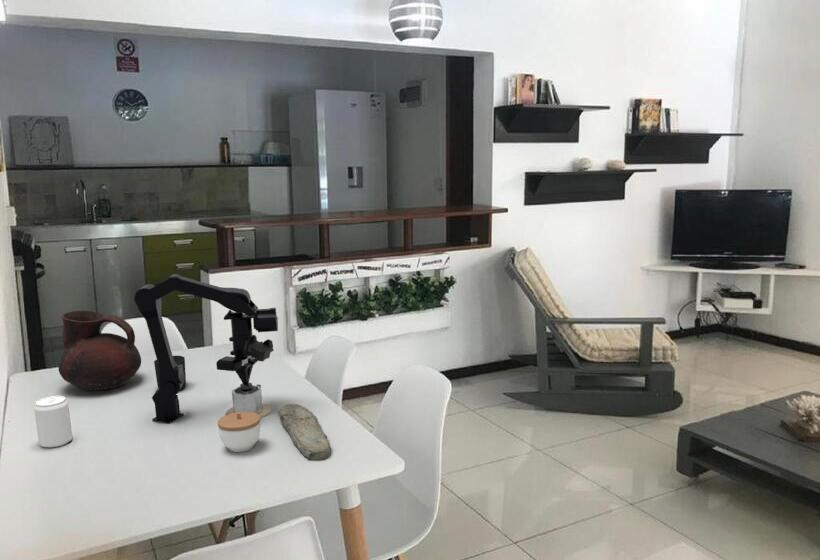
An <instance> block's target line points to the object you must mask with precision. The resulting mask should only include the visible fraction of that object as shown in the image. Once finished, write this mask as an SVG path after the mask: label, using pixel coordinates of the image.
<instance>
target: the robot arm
mask: <svg viewBox="0 0 820 560" xmlns="http://www.w3.org/2000/svg"><path fill="white" fill-rule="evenodd" d="M173 291H174V292H175V291H177V292H181V293H184V294H188V295H190V296H191V295H192V296H195V297H199V298H201V299H204V300H209V301H211V302H212V301H213V302H215V303H218V304H220V305H221V306H222V307H224V308H225V309H228V311H227V313H226V314H225V315H224V317H223V320H225V321H227V320H228V321H229V320H230V326H231V336H230V337H229V338H228V339H229V340H228V341H229V342H232V350H230V356H228V355H226V356H224V357H222V358H219V359H218V360H217V361H216V370H218V371H228V372H235V373H236V375H237V377H238V378H239V380H240V381H241V384H242V383H243V384H244V385H247V384H248V383H250V382H249V381H250V378H251V374H252V371H253V368H254V365H255V364H256V363H258V362H264V361H265V360H267V359H270V356H271V353H272V352H274V350H275V349H274V344H273V340H272V339H269V338H268V339H266V340H264V341H258V339H257V338H258V337H257V336H256V335H257V334H253V329H254V330H255V331H257V333H268V332H269V333H270V332H278V331H279V319H278V318H279V317H278V315H277V308H276V307H269V308H259V307H258V306H257V305H256V304H255V302H254V301H253V300H252V297H251V295H250V292H249V291H248V290H246V289H244V288H237V287H220V286H217V285H213V284H210V283H206V282H203V281H199V280H196V279H193V278H189V277H185V276H182V275H180V274H178V273H174V274H172V275H170V276H169V277H166V278H164V279H163V280H160V281H159V282H156V283H154V284H151V283H148V284H144V285H143V286H142V287H140V288H139V289H138V290H137V291H136V292H135V294H134V296H133V300H134V304H135V306H136V307H137V309H138V312H139V313H140V315H141V316H142V317H143V318H144V320H145V323H146V325H147V330H148V333H149V338H150V339H151V340H150V341H151V343H152V347H153V351H154V354H155V357H156V360H157V362H158V365H159V376H158V379H159V387H158V386H157V389H156V390H155V392H154V393H153V394H152V397H151V399H152V401H153V403H154V408H155V409H154V410H155V416H154V417H152V418H151V420H152V422H156V423H157V422H158V423H165V424H171V423H173V422H175V421H176V420H178V419H179V418H182V417H183V416H185V415H184V414H185V413H182V412H181V410H180V409H181V408H180V401H179V400H180V399H179V395H178V394H179V392H181V391H180V389H181V387H182V385H183V383H184V379H185V377H186V375H185V374H184V372H183V365H182V364H180V365H177V364H176V363H175V361H174V359H173V356H174V355H173V352H172V348H171V345H170V342H169V338H168V335H167V331H166V327H165V323H164V320H163V317H162V298H163V297H165V296H166V295H168V294H171V293H172V292H173ZM252 323H253V324H252ZM186 378H187V377H186Z"/></svg>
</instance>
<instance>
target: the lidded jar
mask: <svg viewBox="0 0 820 560" xmlns="http://www.w3.org/2000/svg"><path fill="white" fill-rule="evenodd" d="M217 426H218V433H219V438H220V441H221V442H222V444H223V445H224V446H225V447H226V448H228V449H229V451H230V452H234V453H241V452H242V453H243V452H246V451H250V450H251V449H253V447H254V445H255V444H256V443H257V441H258V440H259V437H260V435H261V434H260V433H261V418H260V416H259V415H258V414H257V413H254V412H235V413H231V414H227V415H225V414H224V415H223V416H221V417H220V418H219V419H218V420H217Z"/></svg>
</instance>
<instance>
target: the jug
mask: <svg viewBox="0 0 820 560" xmlns="http://www.w3.org/2000/svg"><path fill="white" fill-rule="evenodd" d="M61 319H62V322H63V328H62V336H61V337H62V344H63V348H64V350H63V352H62V354H61V355H60V358H59V361H58V372H59V375H60V376H61V378H62V379H63V380H64V381H65V382H67V383H68V384H71V385H72V386H74V387H76V388H77V389H78V388H79V389H82V390H85V391H86V390H87V391H103V390H110V389H113V388H117V387H119V386H121V385H123V384H126V383H127V382H129V381H130V380H131V379H132V378H133V377H134V376H135V375H136V374H137V373H138V371H140V370H139V369H140V368H141V366H142V356H141V354H140V352H139V350H138V347H137V346H136V345H135V342H136V335H135V331H134V328H133V327H132V325H131V324H129V322H127V320H125V319H123V318H121V317H120V316H118V315H105V314H103V313H101V312H99V311H98V312H95V311H92V310H73V311H69V312H66V313H63V314H62V315H61ZM105 322H108V323H112V324H115V325H116V326H117V327H119V328H120V329H122V330H123V332H125V335H126V337H127V338H126V337H125V336H122V335H119V334H115V333H109V332H108V333H107V332H103V333H102V332H100V330H101V327H102V325H103V323H105Z"/></svg>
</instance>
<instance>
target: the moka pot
mask: <svg viewBox="0 0 820 560" xmlns="http://www.w3.org/2000/svg"><path fill="white" fill-rule="evenodd" d="M262 395H263V394H262V385H261V384H260V383H258V384H256V385H253V384H252V390H251V391H248V394H245V392H243V391H241V389H240V386H237V387H235V388H234V389H232V390H231V398H232V407H231V408H229V409H227V410H226V412H225V413H224V416H225V415H227V414H231V413H235V412H254V413H257V414H258V415H259V416H260V419H262V418H265V417H266V416H267V415H269V414H270V413H271V407H270V406H269V405H267V404H264V403H263V396H262Z"/></svg>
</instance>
